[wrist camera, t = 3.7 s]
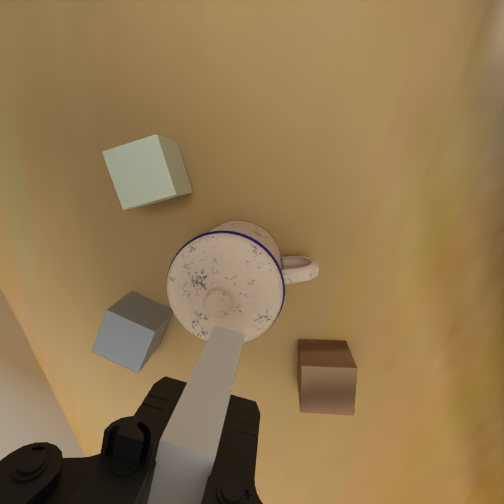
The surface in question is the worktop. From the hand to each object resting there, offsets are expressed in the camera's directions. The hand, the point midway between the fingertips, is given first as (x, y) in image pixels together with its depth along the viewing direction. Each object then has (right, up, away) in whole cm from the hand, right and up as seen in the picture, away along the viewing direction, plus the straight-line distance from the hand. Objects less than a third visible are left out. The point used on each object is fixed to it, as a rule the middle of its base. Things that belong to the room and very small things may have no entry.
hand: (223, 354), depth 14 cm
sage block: (-8, +13, +16) cm, 22 cm away
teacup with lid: (+1, +4, +17) cm, 17 cm away
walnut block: (+9, -7, +19) cm, 22 cm away
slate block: (-11, -3, +19) cm, 22 cm away
